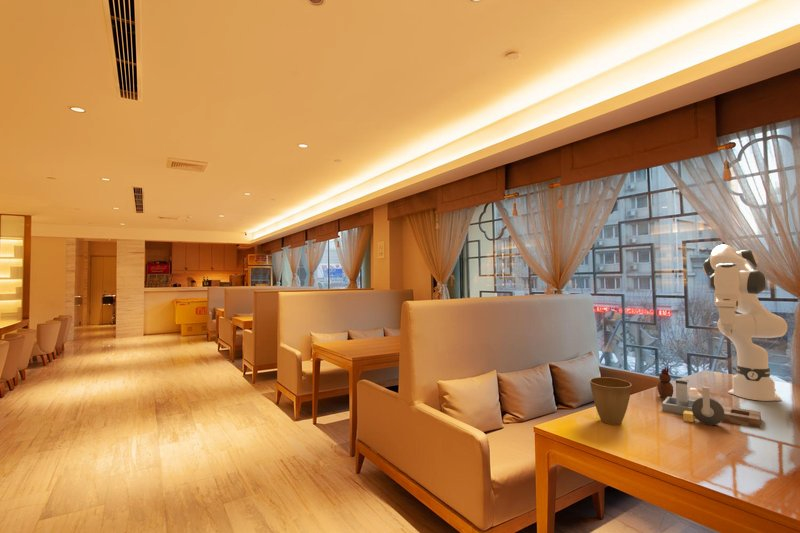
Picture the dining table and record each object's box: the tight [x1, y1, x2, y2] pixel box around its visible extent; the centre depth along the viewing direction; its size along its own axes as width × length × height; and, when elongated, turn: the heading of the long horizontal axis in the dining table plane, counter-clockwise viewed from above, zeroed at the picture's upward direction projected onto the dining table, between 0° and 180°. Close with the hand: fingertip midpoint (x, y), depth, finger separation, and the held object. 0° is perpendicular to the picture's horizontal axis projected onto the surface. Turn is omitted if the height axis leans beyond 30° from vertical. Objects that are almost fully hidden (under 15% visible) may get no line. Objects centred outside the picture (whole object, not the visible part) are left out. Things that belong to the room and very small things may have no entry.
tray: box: [661, 396, 695, 415], centre depth 175 cm, size 13×13×3 cm
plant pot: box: [589, 376, 632, 426], centre depth 162 cm, size 15×15×16 cm
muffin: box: [689, 387, 702, 401], centre depth 184 cm, size 6×6×7 cm
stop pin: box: [675, 378, 690, 407], centre depth 175 cm, size 4×4×12 cm
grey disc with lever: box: [682, 386, 724, 426], centre depth 159 cm, size 7×13×15 cm, turn 47°
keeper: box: [721, 405, 762, 428], centre depth 162 cm, size 12×12×3 cm
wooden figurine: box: [657, 366, 674, 399], centre depth 193 cm, size 7×6×15 cm
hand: (728, 334), depth 170 cm, fingers open, 8 cm apart
